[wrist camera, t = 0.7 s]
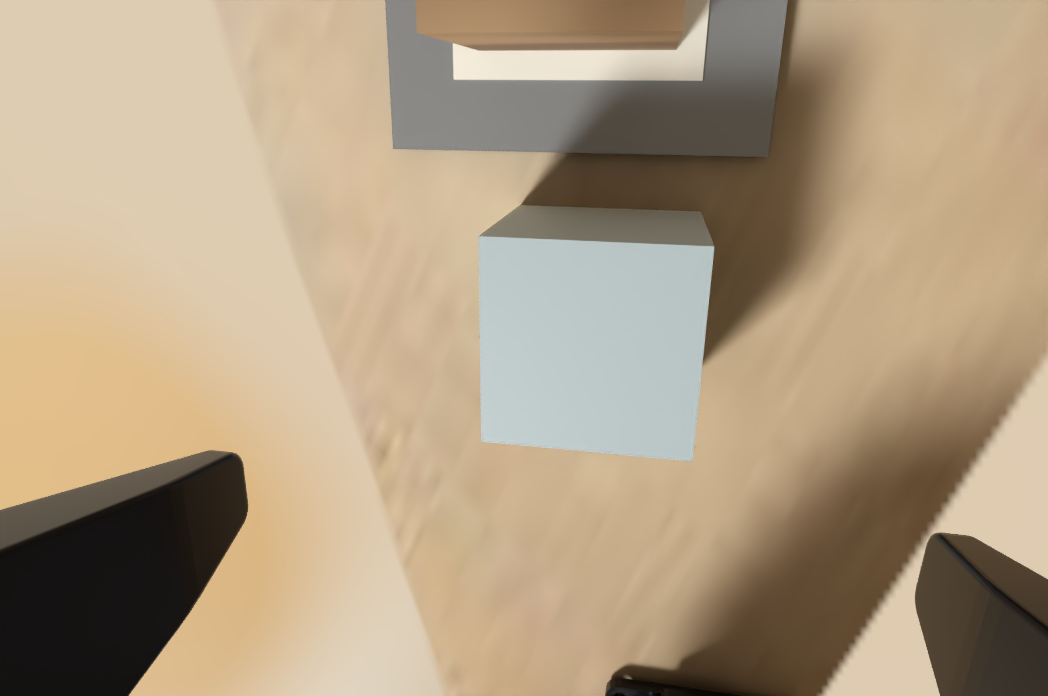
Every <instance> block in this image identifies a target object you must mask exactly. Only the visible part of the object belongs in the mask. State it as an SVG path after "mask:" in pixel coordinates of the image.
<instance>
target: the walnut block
mask: <svg viewBox="0 0 1048 696" xmlns="http://www.w3.org/2000/svg"><path fill="white" fill-rule="evenodd" d="M415 1H416V26H417V33H420V34H423V35H426V36H430V37H433V38H437V39H440V40H444V41H447V42H451V43H454V44H458V45H461V46H465V47H468V48H471V49H475V50H478V51H542V50H676V49H677V46H678V44H679V41H680V38H681V35H682V33H683V27H684V14H685V1H686V0H415Z"/></svg>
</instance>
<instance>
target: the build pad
mask: <svg viewBox="0 0 1048 696" xmlns="http://www.w3.org/2000/svg"><path fill="white" fill-rule="evenodd" d="M385 2H386V21H387V40H388V59H389V78H390V97H391V116H392V135H393V149H422V150H469V151H515V152H561V153H608V154H654V155H700V156H747V157H769V149H770V140H771V132H772V124H773V116H774V108H775V100H776V92H777V84H778V75H779V67H780V59H781V51H782V43H783V35H784V27H785V19H786V10H787V2H788V0H686V1H685V14H684V27H683V33H682V35H681V38H680V41H679V44H678V46H677V49H676V50H542V51H478V50H475V49H471V48H468V47H465V46H461V45H458V44H454V43H451V42H447V41H444V40H440V39H437V38H433V37H430V36H426V35H423V34H420V33H417V26H416V1H415V0H385Z"/></svg>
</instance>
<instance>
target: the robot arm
mask: <svg viewBox="0 0 1048 696" xmlns="http://www.w3.org/2000/svg"><path fill="white" fill-rule="evenodd" d="M247 512H248V499H247V492H246V483H245V476H244V467H243V462H242V460H241V458H240V457H239V456H238V455H237V454H236V453H232V452H224V451H214V450H211V451H205V452H202V453H198V454H195V455H191V456H188V457H184V458H181V459H177V460H174V461H170V462H167V463H163V464H160V465H156V466H153V467H149V468H146V469H142V470H139V471H135V472H132V473H128V474H125V475H121V476H118V477H114V478H111V479H107V480H104V481H100V482H97V483H93V484H90V485H86V486H83V487H79V488H76V489H72V490H69V491H65V492H62V493H58V494H55V495H51V496H48V497H45V498H41V499H37V500H34V501H30V502H27V503H23V504H20V505H16V506H13V507H9V508H6V509H2V510H0V696H129V694H130V693H131V692H132V690H133V689H134V688H135V686H136V685H137V684H138V682H139V681H140V680H141V678H142V677H143V676H144V674H145V673H146V672H147V670H148V669H149V667H150V666H151V665H152V663H153V662H154V661H155V659H156V658H157V657H158V655H159V654H160V653H161V651H162V650H163V649H164V647H165V646H166V645H167V643H168V642H169V641H170V639H171V638H172V637H173V635H174V634H175V632H176V631H177V630H178V628H179V627H180V626H181V624H182V623H183V621H184V620H185V619H186V617H187V615H188V614H189V613H190V611H191V610H192V608H193V607H194V605H195V603H196V602H197V600H198V599H199V597H200V596H201V594H202V592H203V591H204V589H205V587H206V586H207V584H208V582H209V581H210V579H211V577H212V576H213V574H214V572H215V571H216V569H217V567H218V566H219V564H220V562H221V560H222V559H223V557H224V556H225V554H226V552H227V551H228V549H229V547H230V545H231V544H232V542H233V541H234V539H235V537H236V536H237V534H238V532H239V531H240V529H241V527H242V525H243V524H244V522H245V519H246V516H247ZM915 604H916V610H917V615H918V618H919V621H920V625H921V629H922V632H923V636H924V639H925V643H926V647H927V650H928V654H929V657H930V660H931V664H932V668H933V671H934V675H935V678H936V682H937V686H938V689H939V693H940V696H1048V579H1046V578H1044V577H1043V576H1041V575H1039V574H1037V573H1035V572H1034V571H1032V570H1030V569H1028V568H1027V567H1025V566H1023V565H1021V564H1020V563H1018V562H1016V561H1014V560H1013V559H1011V558H1009V557H1007V556H1006V555H1004V554H1002V553H1000V552H998V551H997V550H995V549H993V548H992V547H990V546H988V545H986V544H984V543H983V542H981V541H979V540H977V539H976V538H974V537H971V536H966V535H958V534H949V533H935V534H933V535H932V536H931V537H930V539H929V541H928V543H927V546H926V550H925V554H924V558H923V562H922V566H921V570H920V574H919V578H918V582H917V587H916V593H915ZM616 693H622V694H624V695H618V694H616ZM605 696H738V695H732V694H725V693H718V692H711V691H704V690H697V689H691V688H684V687H677V686H670V685H663V684H656V683H649V682H643V681H636V680H629V679H622V678H615V679H612V680H610V681H609V682H608V683H607V686H606V693H605Z"/></svg>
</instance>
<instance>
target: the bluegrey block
mask: <svg viewBox="0 0 1048 696" xmlns="http://www.w3.org/2000/svg"><path fill="white" fill-rule="evenodd" d="M713 256H714V244H713V241H712V239H711V236H710V233H709V231H708V228H707V226H706V223H705V220H704V218H703V215H702V213H701V211H677V210H649V209H620V208H592V207H564V206H535V205H520V206H518V207H517V208H516V209H514V210H513V211H512V212H510V213H509V214H508V215H506V216H505V217H504V218H502V219H501V220H500V221H498V222H497V223H496V224H494V225H493V226H492V227H490V228H489V229H488V230H486V231H485V232H484V233H482V234H481V235H480V236H479V305H480V382H481V442H492V443H502V444H513V445H523V446H534V447H545V448H555V449H566V450H576V451H587V452H598V453H608V454H619V455H629V456H640V457H650V458H661V459H672V460H682V461H692V460H693V451H694V441H695V431H696V421H697V412H698V402H699V392H700V383H701V373H702V363H703V353H704V344H705V334H706V324H707V315H708V305H709V295H710V285H711V276H712V266H713Z"/></svg>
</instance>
